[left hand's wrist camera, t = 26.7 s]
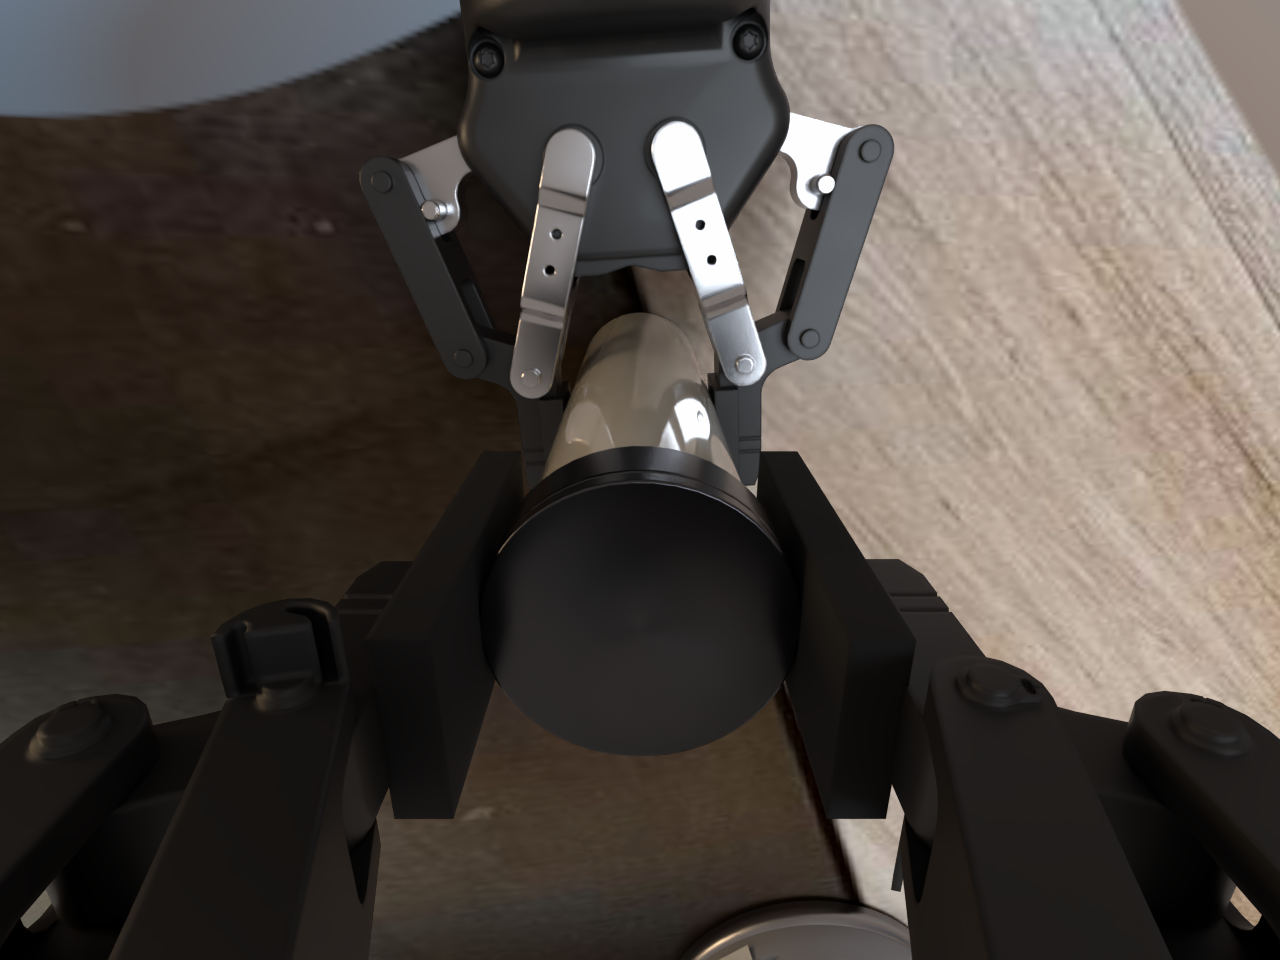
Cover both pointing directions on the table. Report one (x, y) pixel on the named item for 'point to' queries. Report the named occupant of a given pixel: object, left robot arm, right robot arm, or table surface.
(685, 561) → the lid
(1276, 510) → the table surface
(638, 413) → the beige cylinder
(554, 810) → the table surface
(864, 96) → the table surface
